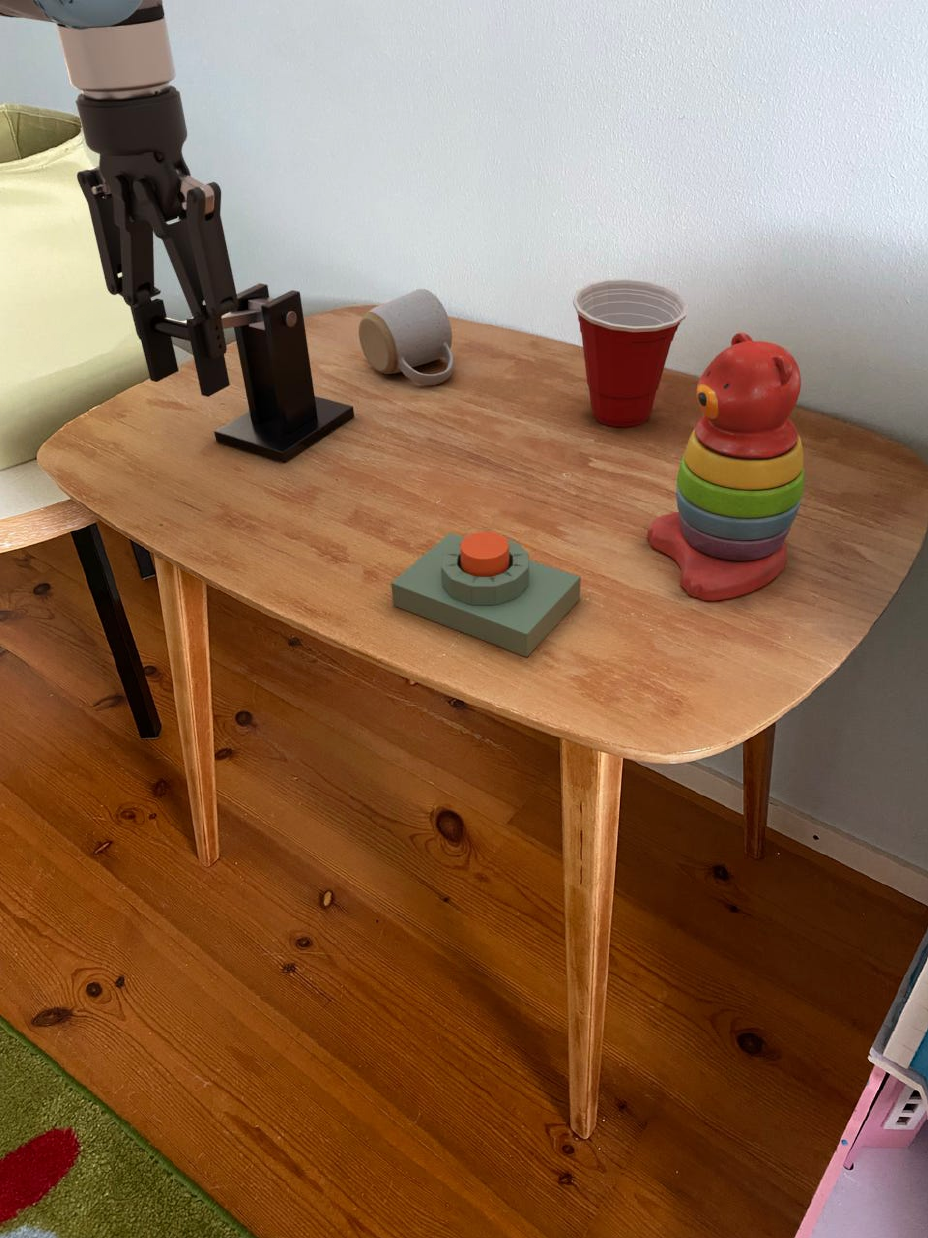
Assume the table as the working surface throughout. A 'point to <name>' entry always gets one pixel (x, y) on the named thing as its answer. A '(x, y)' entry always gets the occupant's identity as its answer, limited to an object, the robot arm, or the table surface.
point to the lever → (228, 320)
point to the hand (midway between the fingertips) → (189, 382)
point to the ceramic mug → (408, 336)
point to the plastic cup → (626, 345)
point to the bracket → (278, 384)
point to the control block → (488, 596)
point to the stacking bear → (737, 474)
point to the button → (484, 554)
